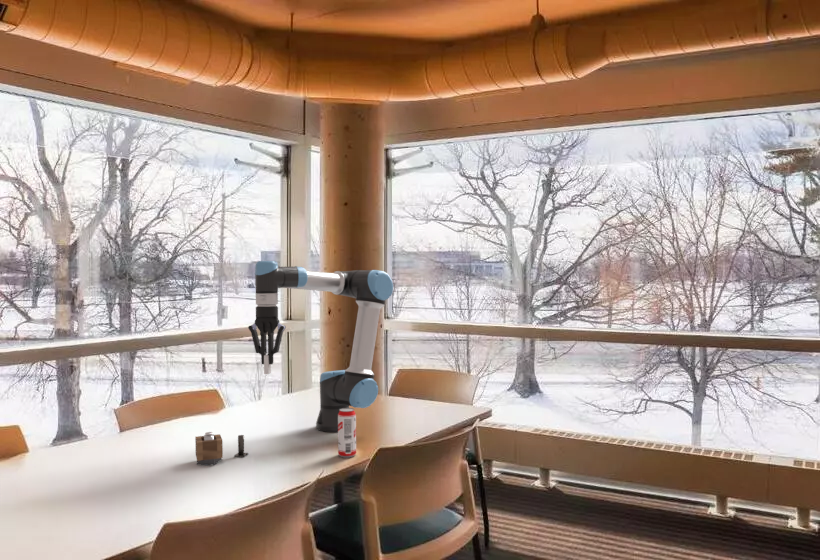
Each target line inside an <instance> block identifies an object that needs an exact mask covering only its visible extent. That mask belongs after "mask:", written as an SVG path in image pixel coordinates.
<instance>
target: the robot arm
mask: <svg viewBox="0 0 820 560" xmlns="http://www.w3.org/2000/svg"><path fill="white" fill-rule="evenodd" d="M254 271H255V273H254V275H255V276H254V279H255V281H254V282H255V283H254V284H255V305H256V306H255V320H254V323H253V324H251V325H248V327H247V328H248V330H249V332H250V333H251V338H252V341H253V346H254V350H255V353H256V354H259V355H261V365H263V374H264V375H269V374H272V369H271V368H272V365H273V364H274V355H275V354H277V353H279V352H280V347H281V343H282V342H281V341H282V338H283V333H284V331H285V330H286V328H287V327H286V325H285V324H284V325H283V324H282V323H280V320H279V307H278V304H279V296H278V295H279V294H278V293H279V289H281V288H282V289H293V290H304V291H305V290H306V291H317V292H318V291H319V292H331V293H332V294H333V295H335V296H336V295H337V296H342V297H343V296H344V297H349V298H353V299H355V303H356V304H357V306H358V309H357V315H356V322H355V330H354V334H353V335H354V336H353V342H352V349H351V354H350V355H351V356H350V361H349V366H348V367H347V368H346V369H341V370H329V371H324V372H322V373H321V374H320V376H319V393H320V394H319V397H320V398H319V399H320V403H319V404H320V405H319V406H320V408H319V412H318V416H317V419H316V423H315V425H316V426H315V429H316V430H318V431H320V432H325V433H326V432H329V433H333V432H334V433H338V413H339V411H340V409H342V408H350V407H352V408H354V409H356V408H357V409H366V408H369V407H370V406H371V405H372V404H374V402H375V401H376V399H377V398H378V394H379V386H378V383H377V381H376V380H375V373H374V372H373V370H372V367H373V360H374V353H375V345H376V339H377V333H378V327H379V320H380V313H381V310H382V308H383V307H385V306H386V301H387V300H388V299H390V297H391V296H392V294H393V293H394V283H393V280H392V278H391V276H390V275H389V273H387V272H386V271H384V270H378V269H366V270H363V269H356V270H345V271H343V270H341V271H340V270H336V271H333V272H326V271H317V270H307V269H306V268H305V267H303V266H297V265H295V266H279V265H278V261H275V260H258V261H257V262H255V269H254ZM257 329H258V331H259V334H260V338H259V335H258V331H257ZM276 329H277V332H276V337H275V336H274V335H275V331H276ZM274 337H275V339H274Z"/></svg>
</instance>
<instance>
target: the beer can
mask: <svg viewBox="0 0 820 560" xmlns="http://www.w3.org/2000/svg"><path fill="white" fill-rule="evenodd" d="M337 454H338V456H340V458H345V459H346V458H352V457H354V456H355V455H356V454H357V415H356V412H355V408H354V407H349V408H342V409H340V411H339V413H338V432H337Z"/></svg>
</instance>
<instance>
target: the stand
mask: <svg viewBox="0 0 820 560" xmlns="http://www.w3.org/2000/svg"><path fill="white" fill-rule="evenodd" d="M237 445H238V446H237V451H238V452H236V454H234V455H233V457H234V458H246V457H247V456H248V455H249V452H245V435H244V434H239V435H238V436H237Z"/></svg>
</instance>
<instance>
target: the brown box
mask: <svg viewBox="0 0 820 560" xmlns="http://www.w3.org/2000/svg"><path fill="white" fill-rule="evenodd" d="M213 435H214V440H205V441H204V435H200V436H199V435H198V436H195V457H196V462H197V461H200V460H209V459H218V458H222V459H223V458H224V457H223V456H224V455H223V451H224V450H223V449H224V448H223V438H222V436H221V433H220V434H213Z"/></svg>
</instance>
